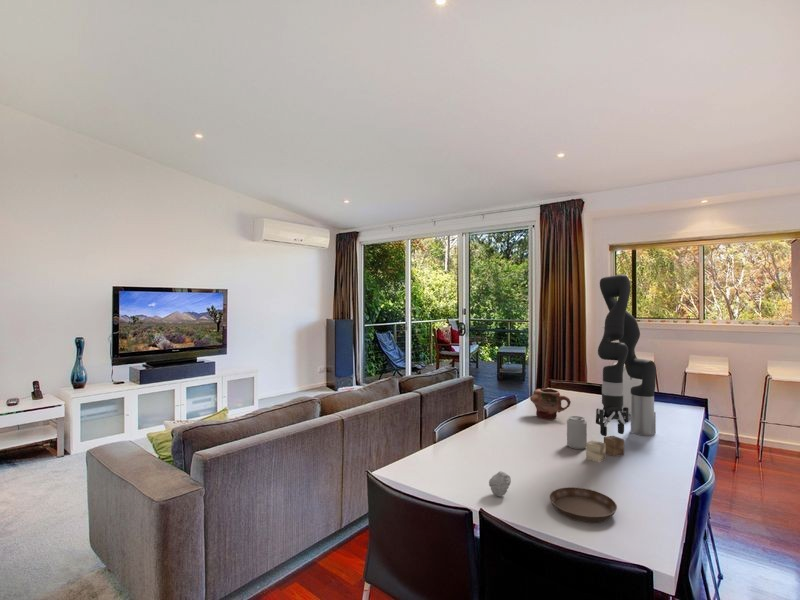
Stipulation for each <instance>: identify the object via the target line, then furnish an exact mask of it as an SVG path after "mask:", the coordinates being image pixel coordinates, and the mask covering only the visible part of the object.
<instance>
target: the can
mask: <svg viewBox="0 0 800 600" xmlns="http://www.w3.org/2000/svg"><path fill="white" fill-rule="evenodd" d="M585 418H586V417H583V416H580V415H570V416H568V419H567V420H566V444H567V445H568V447H569V448H571V449H573V450H575V449H576V450H584V449H586V443H587V442H588V440H587V439H588V438H587V437H588V436H587V435H588V433H587V431H588V430H587V429H588V426H587V425H588V423H587V421H586V419H585Z"/></svg>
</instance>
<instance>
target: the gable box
mask: <svg viewBox="0 0 800 600" xmlns="http://www.w3.org/2000/svg"><path fill="white" fill-rule="evenodd" d="M641 384H642V380H641V379H635V378H631V377H630V376H629V375H628V373H627V371H626V367H625V366H624V368H623V406H624V407H627V408H628V415H631V388H632V387H634V386H639V385H641Z"/></svg>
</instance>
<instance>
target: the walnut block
mask: <svg viewBox="0 0 800 600" xmlns="http://www.w3.org/2000/svg"><path fill="white" fill-rule="evenodd" d="M603 443H606V454H607V455H609V456H612V457H619V456H624V455H625V439H624V438H621V437H618V436H615V435H610V436H609V435H608V436H603Z"/></svg>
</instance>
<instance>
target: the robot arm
mask: <svg viewBox="0 0 800 600" xmlns="http://www.w3.org/2000/svg"><path fill="white" fill-rule="evenodd" d="M599 288H600V292H601V295H602V297H603V299H604V302H605V304H606V306H607V309H608V311H609V312H608V313H607V315H606V317H605V320H604V329H603V330H604V331H603V336H602V339H601V341H600V343H599V345H598V347H597V355H598V356H599V358H600V359H601V360H606V361H617V362H616V364H612V365H605V366H603V368H602V383H601V384H602V385H601V404H602V407H603V408H596V409H595V410H596V412H595V424H597V425H599V426H600V427H599V429H600V435H601V436H602V437H607V435H608V434H607V433H608V424H609V423H610V422H611V421H614V420H616V422H617V433H618V434H620V435H624V433H625V425H626V423H629V422H630V432H631V433H632V434H636V435H640V436H646V437H647V436H654V435H655V434H656V431H657V429H656V428H657V426H656V425H657V424H656V423H657V419H656V418H657V416H656V412H655V391H656V379H657V377H656V376H657V367H656V363H655V362H654V361H653V360H651V359H645V358H638V357H637V355H636V352H635V348H636V345H637V344H638V342H639V339H640V336H641V332H640V331H641V330H640V328H639V324H638V321H637V319H636V318H635V316H634V315H632V314H631V313H630V312H628V311H627V308H628V304H629V301H630V300H629V299H630V295H631V281H630V279H629V276H628V275H626V274H616V275H611V276H610V275H609V276H605V277H602V278H601V279H600V280H599ZM616 298H617V299H616ZM616 341H617V342H616ZM624 367H626V371H627V373H628V375H629V376H630V377H631V378H635V379H641V380H642V384H641V385H639V386H634V387H632V388H631V414H628V408H627V407H624V406H623V368H624ZM629 415H630V419H629Z"/></svg>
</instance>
